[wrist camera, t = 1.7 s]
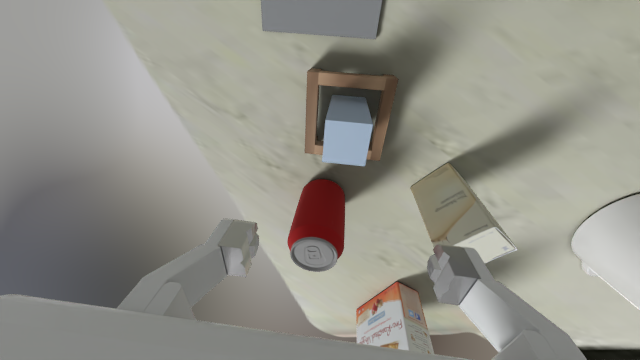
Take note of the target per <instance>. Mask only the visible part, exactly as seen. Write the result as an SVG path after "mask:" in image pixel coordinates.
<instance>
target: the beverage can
mask: <svg viewBox="0 0 640 360" xmlns="http://www.w3.org/2000/svg"><path fill="white" fill-rule="evenodd" d="M344 229H345V195H344V192H343V190H342V188H341V187H340V186H339V185H338V184H336V183H335V182H333V181H330V180H326V179H317V180H314V181H311V182H309V183H308V184H307V185H306V186H305V187H304V189H303V191H302V194H301V197H300V200H299V203H298V206H297V209H296V213H295V216H294V219H293V223H292V226H291V230H290V233H289V236H288V246H289V249H290V255H291V258H292V260H293V262H294V263H295V264H296V265H298V266H299V267H301V268H303V269H305V270H308V271H314V272H320V271H326V270H328V269H330V268H332V267H333V266H334V265H335V264H336V262H337V259H338V258H339V257H340V256H341V254H342V252H343V249H344Z"/></svg>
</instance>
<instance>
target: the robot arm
mask: <svg viewBox="0 0 640 360" xmlns="http://www.w3.org/2000/svg"><path fill="white" fill-rule="evenodd" d="M257 229H258V227H257V223H255V222H248V221H242V220H233V219H223V220H221V222H220V223H219V225H218V226H217V227H216V229H215V230H214V232H213V233H212V235H211V236H210V237H209V239H208V240H207V242H206V243H205V245H203V244H201V245H199V246H197V247H196V248H194V249H192V250H191V251H189V252H187V253H185V254H184V255H181V256H180V257H178V258H176V259H174V260H173V261H171V262H169V263H167V264H166V265H164V266H162V267H160V268H159V269H157V270H155V271H153V272H151V273H150V274H148V275H146V276H144V277H143V278H142V279H141V280H140V282H139V283H138V284H137V285H136V286H135V288H134V289H133V290H132V291H131V292H130V293H129V294H128V296H127V297H126V298H125V299H124V300H123V302H122V303H121V304H120V305H119V306H118V307H117V309H114V308H107V307H100V306H93V305H86V304H79V303H72V302H65V301H58V300H52V299H45V298H38V297H31V296H24V295H17V294H9V295H3V296H0V360H471V359H463V358H457V357H450V356H443V355H436V354H429V353H422V352H415V351H408V350H401V349H394V348H387V347H380V346H373V345H366V344H359V343H352V342H345V341H338V340H331V339H323V338H316V337H310V336H303V335H296V334H289V333H282V332H275V331H268V330H261V329H254V328H247V327H240V326H233V325H226V324H219V323H212V322H205V321H198V320H196V318H195V316H194V314H193V311H192V309H191V307H192V306H193V305H194V304H195V303H197V302H198V301H199V300H200V299H201V298H202V297H203V296H205V295H206V294H207V293H208V292H209V291H210V290H211V289H212V288H214V287H215V286H216V285H217V284H219V283H220V282H221V281H222V280H223V279H224V278H225V277H227V275H234V276H244V277H246V276H247V274H248V271H249V269H250V266H251V264H252V263H251V258H253V257H254V256H255V255H256V252H257V249H258V245H259V236H258V235H257V233H256V232H257ZM571 246H572V250H573V252H574V253H575V254H576V255H577V256H578V257H579V258H580V259H581V261H582V269H583V270H584V271H585V272H586V273H587V274H588V275H590V276H599V277H600V278H602V279H603V280H604V281H605V282H606V283H608V284H609V285H610V286H611V287H612V288H614V289H615V290H616V291H617V292H618V293H620V294H621V295H622V296H623V297H625V298H626V299H627V300H628V301H629V302H631V303H632V304H633V305H634V306H635V307H637V308H638V309H639V310H640V194H637V195H633V196H630V197H627V198H624V199H622V200H619V201H617V202H615V203H612V204H610V205H608V206H606V207H605V208H603V209H601V210H599V211H598V212H596V213H595V214H593V215H592V216H591V217H589V218H588V219H587V220H586V221H585V222H584V223H583V224H582V225H581V226H580V227H579V228H578V229H577V231H576V232H575V234H574V236H573V238H572V243H571ZM433 250H434V253H435V254H434V255H432V256H430V258H429V260H428V266H427V269H428V274H429V277H430V279H431V280H432V281H433V282H434V283H435V284H434V286H433V289H434V292H435V294H436V297H437V300H438V302H441V303H447V304H453V305H459V307H460V308H461V310H462V311H463V312H464V313H465V314H466V315H467V316H468V318H469V319H470V320H471V321H472V322H473V323H474V325H475V326H476V327H477V328H478V329H479V330H480V331H481V333H482V334H483V335H484V336H485V337H486V338H487V339H488V341H489V342H490V343H491V344H492V345H493V346H494V347H495V349H496V350H497V351H498V352H499V353H498V354H497V355H496V356H495V357H494V358H493V359H492V360H587V359H586V358H585V357H584V355H583V354H582V352H581V351H580V350H579V348H578V347H577V346H576V344H575V343H574V342H573V340H572V339H571V338H570V336H569V335H568V334H567V333H565V332H564V331H563V330H561V329H560V328H559V327H557V326H556V325H555V324H554V323H552V322H551V321H550V320H548V319H547V318H546V317H544V316H543V315H542V314H541V313H539V312H538V311H537V310H535V309H534V308H533V307H532V306H530V305H529V304H528V303H526V302H525V301H524V300H522V299H521V298H520V297H519V296H517V295H516V294H515V293H513V292H512V291H511V290H509V289H508V288H507V287H506V286H504V285H503V284H502V283H500V282H497V281H495V280H494V278H493V276H492V275H491V273H490V271H489V270H488V268H487V267H486V265H485V263H484V262H483V260H482V259H481V257H480V255H479V254H478V252H477V251H476V250H475V249H474V248H469V247H459V246H450V245H441V244H437V245H436V246H435V248H434V249H433Z"/></svg>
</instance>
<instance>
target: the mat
mask: <svg viewBox="0 0 640 360" xmlns="http://www.w3.org/2000/svg"><path fill="white" fill-rule="evenodd" d="M381 4H382V0H261V10H262V27H263V31H274V32H287V33H301V34H314V35H327V36H341V37H354V38H367V39H376V34H377V28H378V22H379V16H380V10H381Z"/></svg>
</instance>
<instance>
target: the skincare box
mask: <svg viewBox="0 0 640 360" xmlns="http://www.w3.org/2000/svg"><path fill="white" fill-rule="evenodd" d="M411 190H412V193H413V195H414V198H415V200H416V203H417V205H418V208H419V211H420V213H421V216H422V218H423V221H424V224H425V226H426V229H427V231H428V234H429V237H430V239H431V242H432V244H433V247H434V248H435V246H436V245H437V244H441V245H450V246H459V247H469V248H474V249H475V250H476V251H477V252H478V254H479V255H480V257H481V259H482V260H483V262H484V263H487V262H489V261H492V260H494V259H496V258H499V257H501V256H503V255H506V254H508V253H510V252H513V251H516V250H517V248H516V246H515V245H514V244H513V242H512V241H511V240H510V239H509V237H508V236H507V235H506V233H505V232H504V231H503V229H502V228H501V227H500V225H499V224H498V223H497V222H496V220H495V219H494V218H493V216H492V215H491V214H490V212H489V211H488V210H487V208H486V207H485V206H484V205H483V203H482V202H481V201H480V199H479V198H478V197H477V195H476V194H475V193H474V192H473V190H472V189H471V188H470V186H469V185H468V184H467V182H466V181H465V180H464V179H463V178H462V176H461V175H460V174H459V173H458V172H457V171H456V170H455V168H454V167H453V166H452V165H451V164H450V163H447V164H445V165H443V166H442V167H440V168H439V169H437V170H436V171H434V172H433V173H431V174H429V175H428V176H426V177H425V178H423V179H422V180H420V181H419V182H417V183H416V184H414V185H413V186H411Z"/></svg>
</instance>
